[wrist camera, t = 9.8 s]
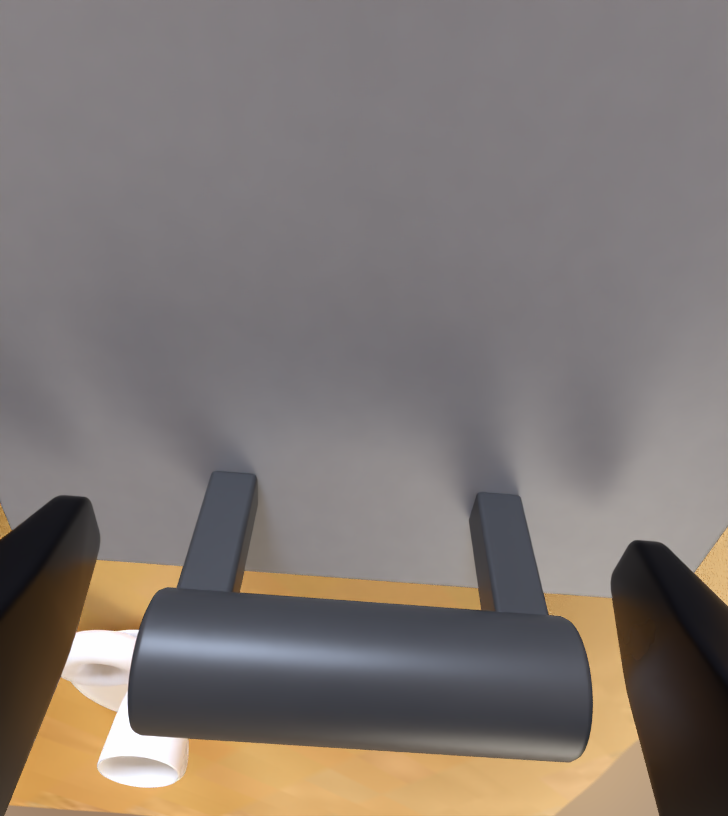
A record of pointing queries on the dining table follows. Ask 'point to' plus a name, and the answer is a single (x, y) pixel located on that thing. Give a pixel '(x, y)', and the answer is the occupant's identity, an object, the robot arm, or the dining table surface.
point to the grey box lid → (367, 339)
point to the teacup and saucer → (122, 711)
